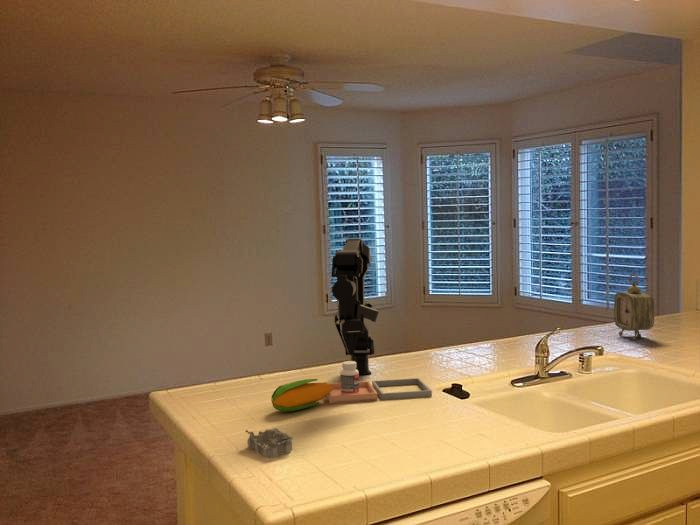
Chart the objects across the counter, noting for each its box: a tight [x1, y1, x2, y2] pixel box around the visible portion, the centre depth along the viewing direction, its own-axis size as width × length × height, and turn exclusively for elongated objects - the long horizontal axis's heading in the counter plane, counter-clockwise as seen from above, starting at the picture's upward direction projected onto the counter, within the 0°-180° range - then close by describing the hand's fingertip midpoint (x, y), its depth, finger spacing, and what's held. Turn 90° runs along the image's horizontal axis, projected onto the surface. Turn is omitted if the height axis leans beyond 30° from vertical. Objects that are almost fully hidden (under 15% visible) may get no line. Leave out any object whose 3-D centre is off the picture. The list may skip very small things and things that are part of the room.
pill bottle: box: [339, 360, 360, 395], centre depth 184 cm, size 5×5×9 cm
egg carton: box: [244, 427, 295, 459], centre depth 144 cm, size 11×8×4 cm
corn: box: [270, 378, 333, 413], centre depth 174 cm, size 7×8×20 cm
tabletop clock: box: [613, 274, 655, 341], centre depth 255 cm, size 14×9×25 cm, turn 6°
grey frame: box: [371, 377, 433, 400], centre depth 188 cm, size 14×14×2 cm
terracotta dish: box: [325, 380, 378, 405], centre depth 184 cm, size 13×13×2 cm
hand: (349, 351), depth 183 cm, fingers open, 9 cm apart
